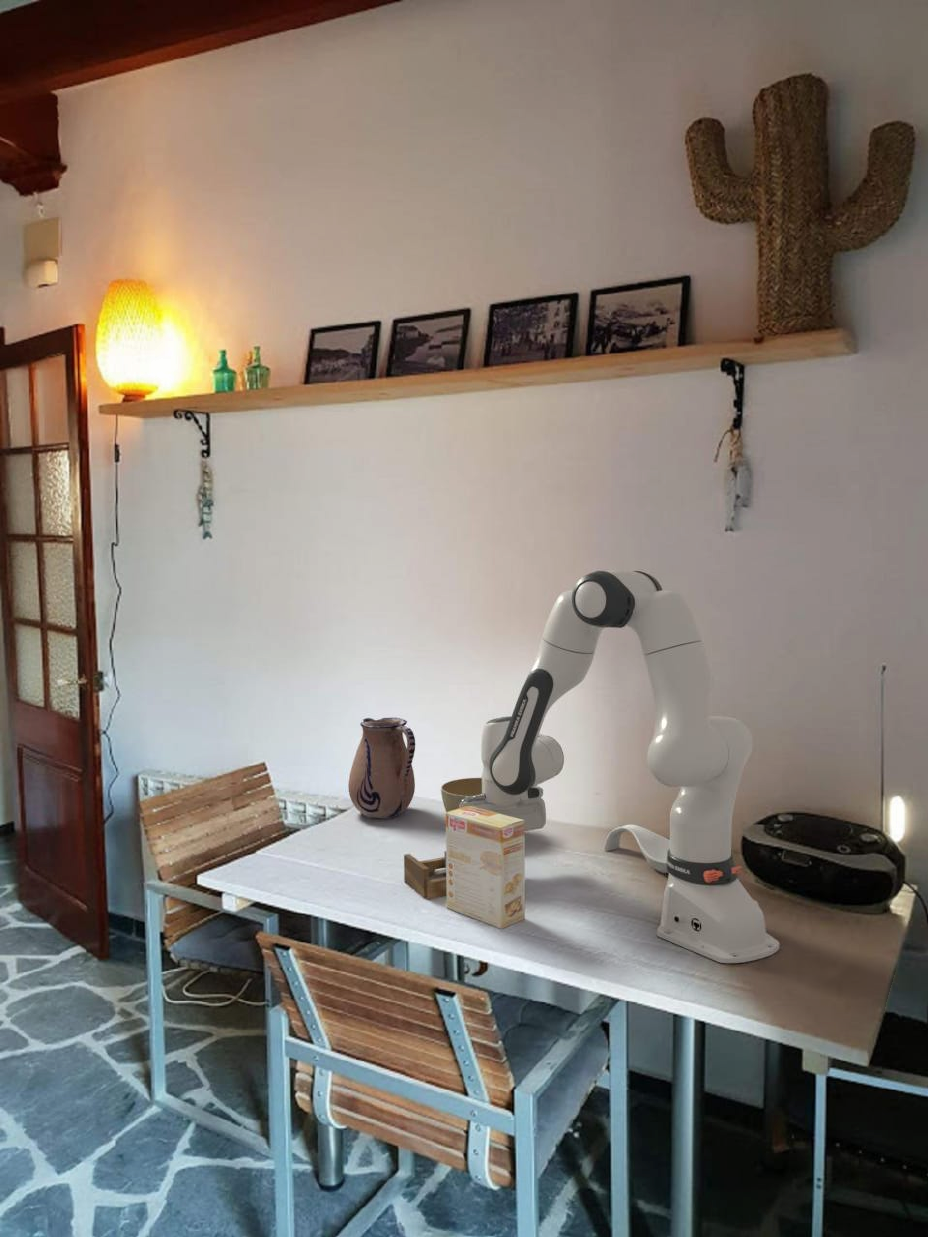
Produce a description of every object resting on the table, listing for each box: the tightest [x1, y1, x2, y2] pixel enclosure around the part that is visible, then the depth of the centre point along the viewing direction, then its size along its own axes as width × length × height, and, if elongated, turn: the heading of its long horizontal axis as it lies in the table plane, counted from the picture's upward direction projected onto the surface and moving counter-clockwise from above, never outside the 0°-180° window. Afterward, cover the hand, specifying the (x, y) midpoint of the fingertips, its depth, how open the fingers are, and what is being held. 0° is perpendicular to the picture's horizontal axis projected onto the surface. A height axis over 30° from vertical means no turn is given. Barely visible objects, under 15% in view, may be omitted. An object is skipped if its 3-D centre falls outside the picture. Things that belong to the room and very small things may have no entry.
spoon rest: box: [603, 824, 670, 875], centre depth 211 cm, size 24×12×7 cm, turn 40°
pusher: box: [435, 850, 446, 876], centre depth 199 cm, size 5×9×5 cm, turn 27°
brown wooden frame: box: [403, 853, 447, 901], centre depth 201 cm, size 21×12×6 cm, turn 117°
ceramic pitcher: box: [347, 717, 416, 820], centre depth 248 cm, size 18×21×25 cm
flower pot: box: [440, 777, 482, 813], centre depth 232 cm, size 18×18×12 cm
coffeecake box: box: [445, 806, 526, 930], centre depth 183 cm, size 15×7×20 cm, turn 45°
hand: (502, 853), depth 205 cm, fingers closed
